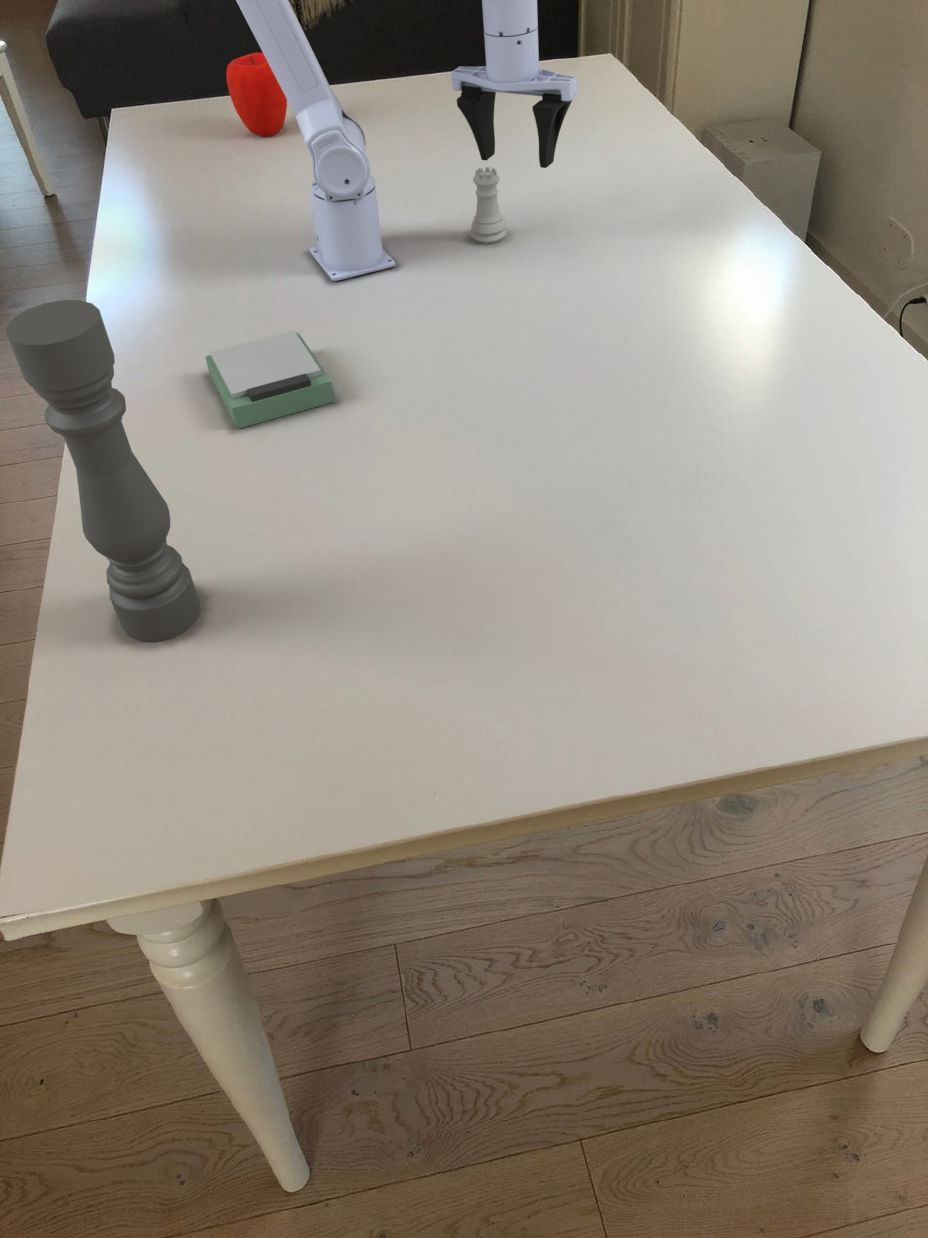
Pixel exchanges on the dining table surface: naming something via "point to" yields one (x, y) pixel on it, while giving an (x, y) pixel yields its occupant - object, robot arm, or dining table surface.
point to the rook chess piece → (487, 208)
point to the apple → (256, 94)
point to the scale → (269, 378)
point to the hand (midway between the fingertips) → (517, 160)
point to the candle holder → (106, 466)
